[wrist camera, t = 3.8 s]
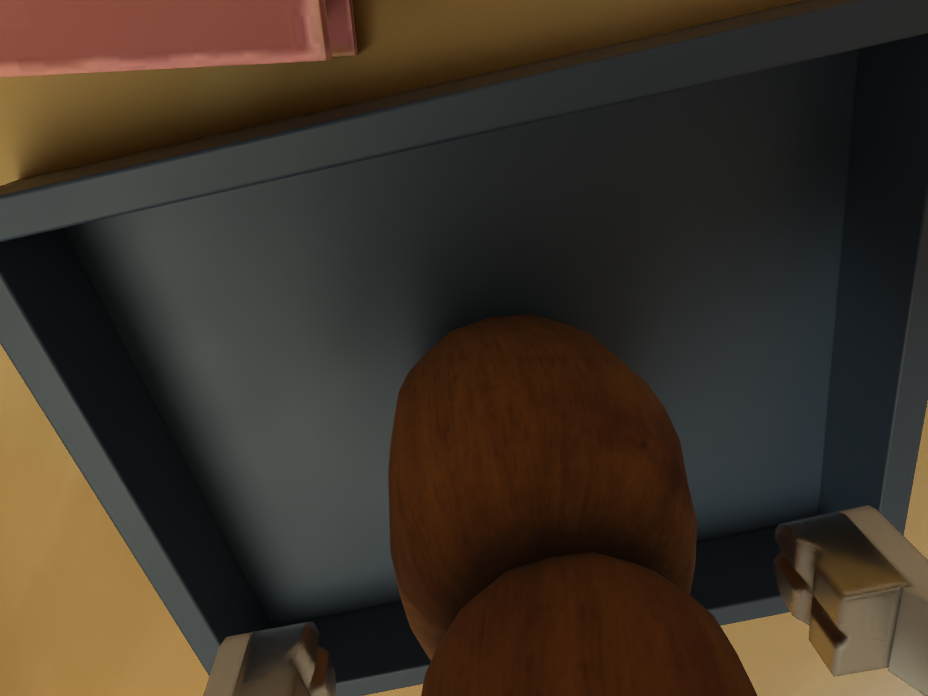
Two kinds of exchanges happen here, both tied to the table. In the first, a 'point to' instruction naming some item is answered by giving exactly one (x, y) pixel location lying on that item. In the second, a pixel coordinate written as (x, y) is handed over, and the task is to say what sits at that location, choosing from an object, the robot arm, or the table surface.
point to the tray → (491, 305)
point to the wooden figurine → (547, 523)
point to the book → (168, 34)
